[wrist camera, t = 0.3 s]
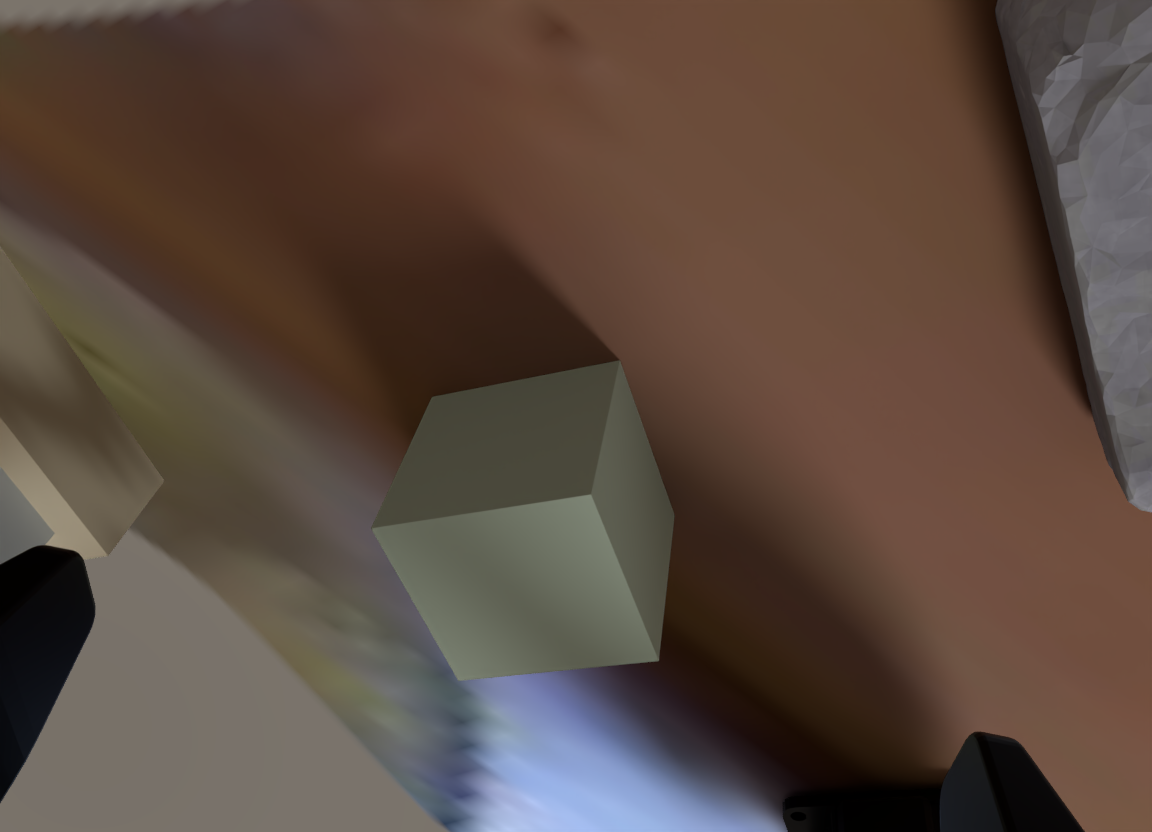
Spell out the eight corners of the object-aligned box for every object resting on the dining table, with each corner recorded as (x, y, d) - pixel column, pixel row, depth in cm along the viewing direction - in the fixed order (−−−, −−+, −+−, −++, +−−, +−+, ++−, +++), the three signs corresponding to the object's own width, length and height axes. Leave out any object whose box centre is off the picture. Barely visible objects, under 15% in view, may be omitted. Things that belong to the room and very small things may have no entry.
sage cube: (674, 513, 26) (659, 661, 23) (502, 538, 28) (458, 680, 24) (620, 358, 24) (591, 494, 20) (432, 395, 25) (370, 528, 21)
